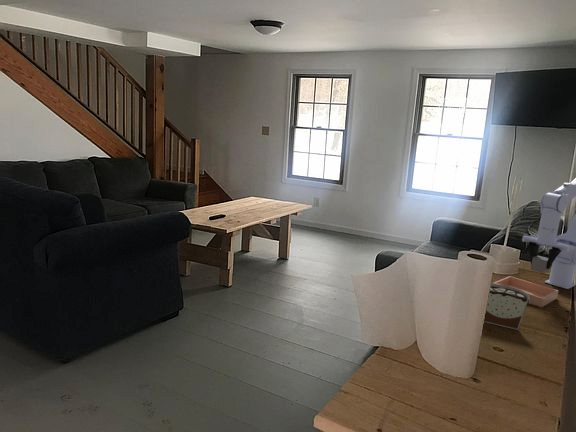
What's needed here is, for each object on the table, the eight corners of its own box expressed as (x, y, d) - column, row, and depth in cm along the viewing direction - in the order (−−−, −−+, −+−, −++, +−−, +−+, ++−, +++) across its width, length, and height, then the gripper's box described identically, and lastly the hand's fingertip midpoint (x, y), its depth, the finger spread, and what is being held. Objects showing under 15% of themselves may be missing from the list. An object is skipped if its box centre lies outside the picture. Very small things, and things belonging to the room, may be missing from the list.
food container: (523, 323, 133) (530, 290, 131) (524, 331, 128) (531, 296, 126) (477, 312, 138) (483, 280, 136) (475, 319, 133) (481, 286, 131)
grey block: (535, 267, 167) (537, 255, 166) (548, 271, 163) (551, 259, 162) (530, 269, 164) (532, 257, 163) (544, 273, 160) (546, 260, 159)
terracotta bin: (508, 283, 168) (509, 276, 167) (556, 298, 157) (558, 290, 156) (491, 291, 158) (492, 282, 158) (541, 307, 147) (543, 298, 147)
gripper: (521, 224, 163) (514, 262, 166) (568, 234, 153) (559, 274, 155) (529, 222, 168) (522, 259, 170) (574, 232, 157) (566, 271, 160)
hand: (540, 266), depth 163 cm, fingers closed on grey block, 4 cm apart
